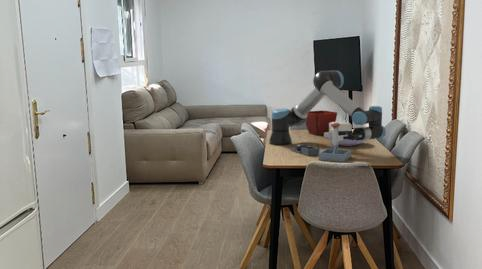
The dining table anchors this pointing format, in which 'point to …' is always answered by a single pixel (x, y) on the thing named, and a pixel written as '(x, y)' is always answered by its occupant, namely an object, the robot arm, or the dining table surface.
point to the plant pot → (319, 121)
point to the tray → (335, 155)
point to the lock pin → (335, 137)
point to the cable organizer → (342, 126)
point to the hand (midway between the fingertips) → (330, 136)
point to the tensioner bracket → (305, 150)
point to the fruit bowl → (347, 141)
